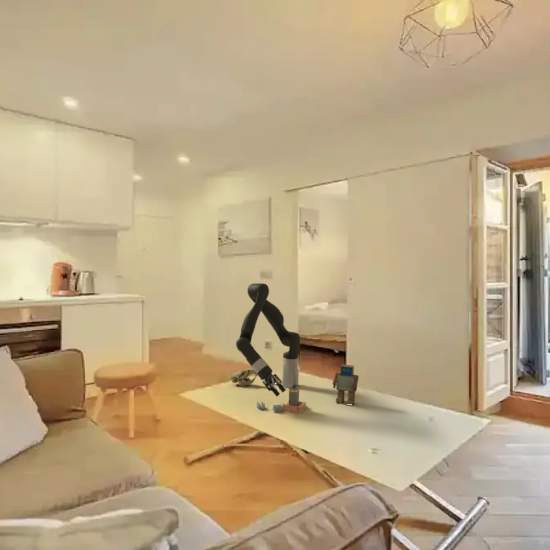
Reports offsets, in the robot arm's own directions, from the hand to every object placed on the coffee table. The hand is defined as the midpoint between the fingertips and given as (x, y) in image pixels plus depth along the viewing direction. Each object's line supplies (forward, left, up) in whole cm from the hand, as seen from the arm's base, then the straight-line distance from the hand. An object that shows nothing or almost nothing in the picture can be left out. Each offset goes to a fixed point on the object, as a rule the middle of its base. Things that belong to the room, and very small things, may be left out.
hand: (281, 393), depth 220 cm
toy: (-30, +20, -7) cm, 37 cm away
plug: (-2, +6, -6) cm, 9 cm away
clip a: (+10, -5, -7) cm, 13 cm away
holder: (-2, +7, -7) cm, 10 cm away
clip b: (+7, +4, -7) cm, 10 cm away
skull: (-14, -43, -7) cm, 46 cm away
